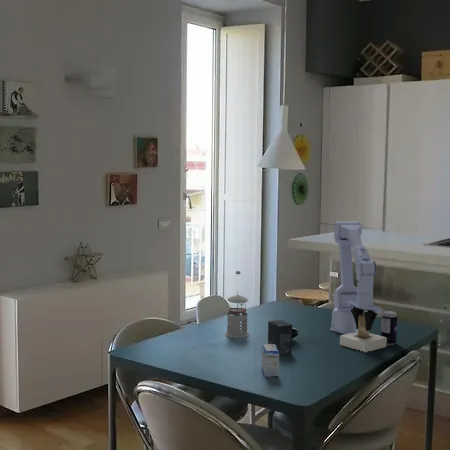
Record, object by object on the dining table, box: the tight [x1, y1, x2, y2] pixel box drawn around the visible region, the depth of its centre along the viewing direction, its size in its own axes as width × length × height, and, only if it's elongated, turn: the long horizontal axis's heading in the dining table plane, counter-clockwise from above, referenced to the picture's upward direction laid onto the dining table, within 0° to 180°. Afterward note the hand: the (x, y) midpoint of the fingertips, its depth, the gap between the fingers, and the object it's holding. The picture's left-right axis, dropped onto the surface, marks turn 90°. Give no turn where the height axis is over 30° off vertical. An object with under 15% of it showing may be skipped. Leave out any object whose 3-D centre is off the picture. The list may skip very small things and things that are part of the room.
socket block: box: [339, 332, 387, 353], centre depth 259 cm, size 12×12×4 cm
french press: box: [224, 270, 250, 339], centre depth 272 cm, size 10×12×25 cm
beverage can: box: [380, 310, 398, 346], centre depth 262 cm, size 6×6×12 cm
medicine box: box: [261, 343, 280, 378], centre depth 226 cm, size 8×4×9 cm, turn 5°
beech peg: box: [357, 314, 370, 339], centre depth 258 cm, size 4×4×8 cm
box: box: [267, 319, 293, 356], centre depth 250 cm, size 8×6×11 cm
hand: (363, 329), depth 258 cm, fingers closed on beech peg, 4 cm apart
